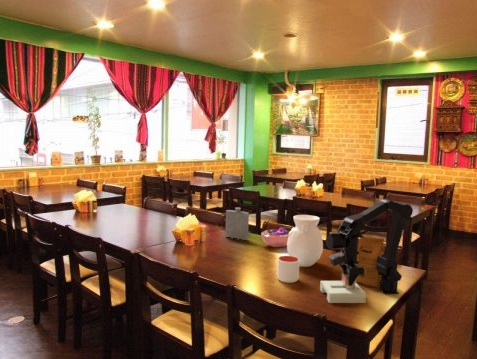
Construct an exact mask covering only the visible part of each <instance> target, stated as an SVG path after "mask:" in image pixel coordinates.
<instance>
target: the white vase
mask: <svg viewBox="0 0 477 359" xmlns="http://www.w3.org/2000/svg"><path fill="white" fill-rule="evenodd" d="M320 219H321V218H320V217H319V216H316V215H310V214H296V215H293V222H294V224H295V227H292V229H291V230H289V231H290V232H289V237H288V242H287V245H286V250H287V253H288V256H294V257H297V258H299V260H300V262H299V267H301V268H302V267H304V268H305V267H306V268H308V267H312V266H313V265H315V263H317V262H318V261H319V260H320V258H321V256H322V254H323V251H324V243H323V242H324V241H323V238H322V237H323V233H322V232H321V230H320V229H319V227H318V224H319V222H320Z"/></svg>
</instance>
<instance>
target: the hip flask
mask: <svg viewBox="0 0 477 359" xmlns="http://www.w3.org/2000/svg"><path fill="white" fill-rule="evenodd" d="M234 209H235V210H231V209H227V210H225V238H226V237H231V238H230V239H233V238H237V239H236V240H239V239H242V240H241V241H243V240H248V241H249V223H250V222H249V221H250V220H249V219H250V218H249V216H250V212H246V211H244V210H243V211H242V210H241V209H242V208H241V207H239V206H238V207H234Z"/></svg>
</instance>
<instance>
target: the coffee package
mask: <svg viewBox="0 0 477 359" xmlns="http://www.w3.org/2000/svg"><path fill="white" fill-rule="evenodd" d="M362 235H363V237H360V238H359V239H358V251H359V254H357V260H358V261H359V263H358V264H355V265H360V266H362V267H363V268H364V269H365V274H364V275H358V277H357V278H356V283H357V284H358V283H359V284H363V285H364V286H367V287H373V288H374V287H375V288H377V287H378V288H379V285H380V280H381V275H379V273H378V271H377V269H376V262H377V257H378V256H380V257H381V256H382V255H383V254H384V252H385V245H384V244H385V243H384V241H385V240H384V237H370V236H368V235H365V234H362Z"/></svg>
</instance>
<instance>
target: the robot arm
mask: <svg viewBox="0 0 477 359" xmlns="http://www.w3.org/2000/svg"><path fill="white" fill-rule="evenodd" d="M387 211H390V216H391V220H392V222H391V226H390V230H389V234H388V237H387V241H386V245H385V247H384V254H383V255H382V256H381V257H380V256H378V257H377V262H376V269H377V271H378V273H379V275H381V280H380V285H379V286H378V290H380V291H381V292H382V293H383V294H385V295H399V294H400V293H399V291H398V284H399V282H400V281H401V279H402V274H401V273H400V272H399V271H398V265H399V264H398V261H397V254H398V249H399V246H400V243H401V240H402V236H403V231H404V227H405V225H406V224H407V223H408V222H409V221H410V219H411V217H412V215H413V213H414V208H413V207H412V205H410V204H408V203H405V202H400V201H397V202H395V201H393V200H391V199H388V198H382V199H381V200H380V201H378V202H377V203H375V204H374V205H372V206H370V207H369V208H367V209H365V210H363V211H362V212H360V213H356V214H352V215H349V216H346V217H345V218H343V221H342V223H341V224H340V226H339V228H338V229H337V230H336V232H331V231H330V232H329V233H328V235H327V236H326V239H325V245H326V247H327V249H328V250H337V249H338V250H339V249H341V250H340V252H336V253H334V254H331V255H329V256H328V259H329V262H330V264H331V265H332V266H333V267H336V266H338V265H339V267H340V268H342V273H347V274H348V282H349V286H352V285H353V283H354V281H355V280H356V278H357V277H358V275H364V274H365V269H364V268H363V267H362V266H360V265H356V264H358V263H359V261H358V260H357V254H359V251H358V246H359V239H360V237H363V235H364V234H362V233H361V231H362V230H363V229H364V228H366V225H367V224H368V223H369V222H370V221H371V222H372V221H373V220H374V219H376V218H378V217H380V215H383V214H384V213H386V212H387Z"/></svg>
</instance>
